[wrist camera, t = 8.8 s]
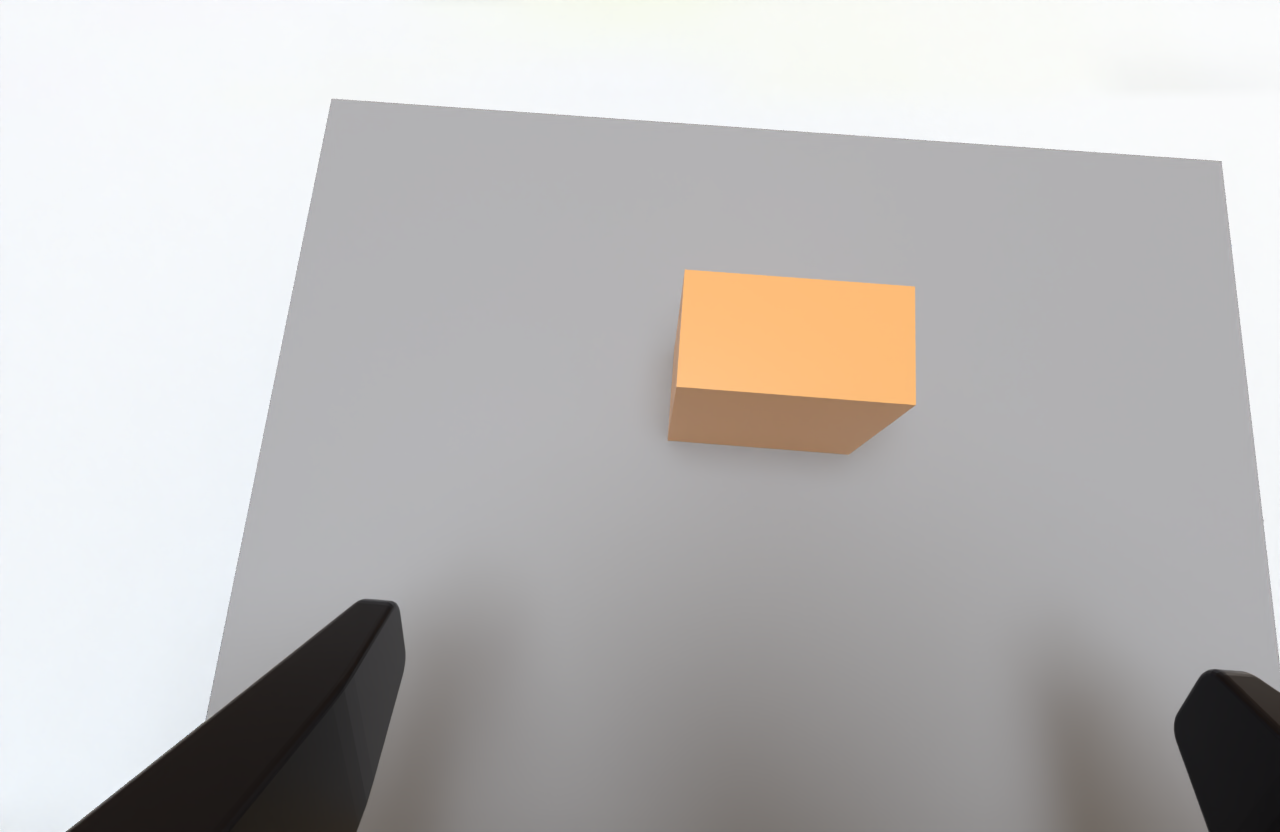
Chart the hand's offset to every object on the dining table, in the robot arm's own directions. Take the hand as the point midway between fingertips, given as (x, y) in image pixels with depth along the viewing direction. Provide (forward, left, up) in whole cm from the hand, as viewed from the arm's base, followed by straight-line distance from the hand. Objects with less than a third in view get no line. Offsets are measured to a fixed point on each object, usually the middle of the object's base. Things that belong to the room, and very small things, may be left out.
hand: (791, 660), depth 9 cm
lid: (+2, -2, -4) cm, 5 cm away
